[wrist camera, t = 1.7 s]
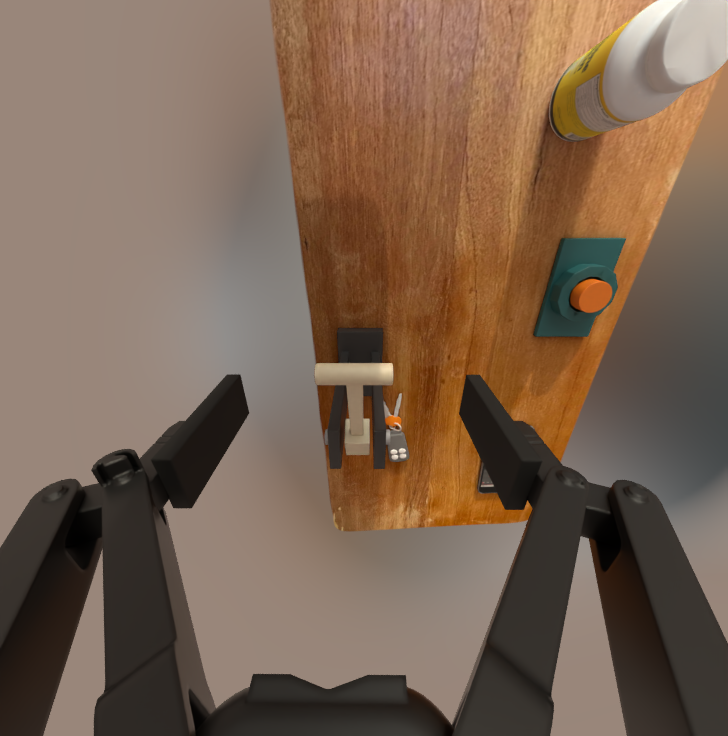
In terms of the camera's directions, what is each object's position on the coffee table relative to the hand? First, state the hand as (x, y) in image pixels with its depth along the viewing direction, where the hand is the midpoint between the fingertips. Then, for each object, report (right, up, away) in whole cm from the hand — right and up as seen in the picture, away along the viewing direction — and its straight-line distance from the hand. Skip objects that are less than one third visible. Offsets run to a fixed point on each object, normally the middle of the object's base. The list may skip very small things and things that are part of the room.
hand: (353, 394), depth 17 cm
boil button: (+27, +10, +17) cm, 34 cm away
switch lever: (0, -1, +7) cm, 7 cm away
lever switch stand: (0, +3, +24) cm, 24 cm away
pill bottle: (+22, +27, +11) cm, 37 cm away
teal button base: (+27, +11, +19) cm, 35 cm away
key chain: (+6, -8, +30) cm, 31 cm away
